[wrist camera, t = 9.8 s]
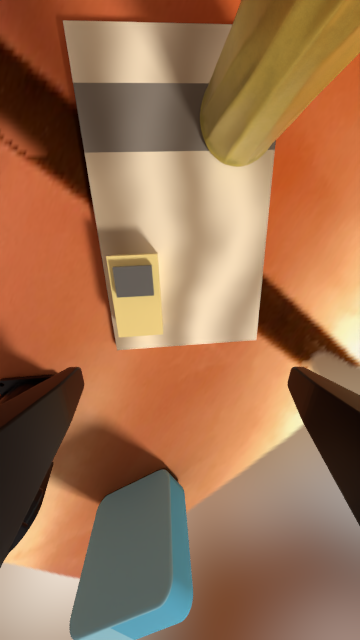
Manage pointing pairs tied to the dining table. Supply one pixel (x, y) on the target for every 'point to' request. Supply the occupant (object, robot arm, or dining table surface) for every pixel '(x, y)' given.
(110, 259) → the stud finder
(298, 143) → the dining table surface
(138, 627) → the blue rounded block
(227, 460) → the dining table surface
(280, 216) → the dining table surface
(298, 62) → the vase
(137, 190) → the subfloor panel
